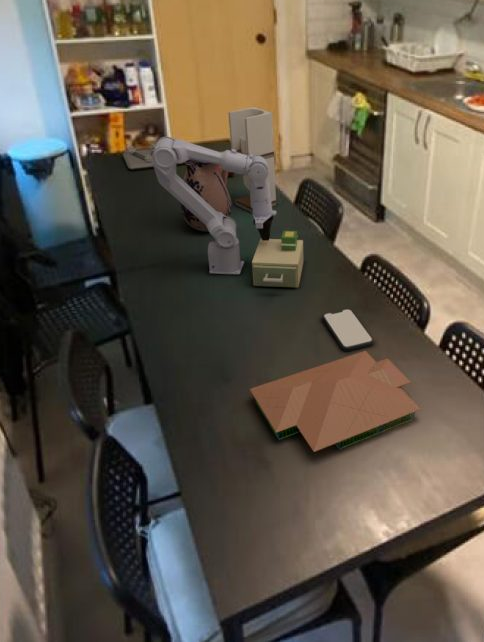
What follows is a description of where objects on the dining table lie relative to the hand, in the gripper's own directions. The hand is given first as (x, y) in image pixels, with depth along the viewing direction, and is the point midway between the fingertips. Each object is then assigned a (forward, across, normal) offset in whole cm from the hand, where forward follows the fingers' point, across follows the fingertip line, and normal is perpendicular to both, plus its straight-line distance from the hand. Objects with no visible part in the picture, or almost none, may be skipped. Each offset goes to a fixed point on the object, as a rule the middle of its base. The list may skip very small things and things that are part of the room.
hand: (265, 239), depth 173 cm
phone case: (+11, -33, -26) cm, 44 cm away
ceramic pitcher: (+9, +28, +26) cm, 39 cm away
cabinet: (+10, -4, -4) cm, 11 cm away
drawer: (+9, -8, -4) cm, 13 cm away
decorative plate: (+7, +93, +65) cm, 114 cm away
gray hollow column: (+10, +47, +13) cm, 50 cm away
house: (+10, -62, -26) cm, 68 cm away
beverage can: (+9, +75, +33) cm, 83 cm away
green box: (+2, -1, -7) cm, 8 cm away
